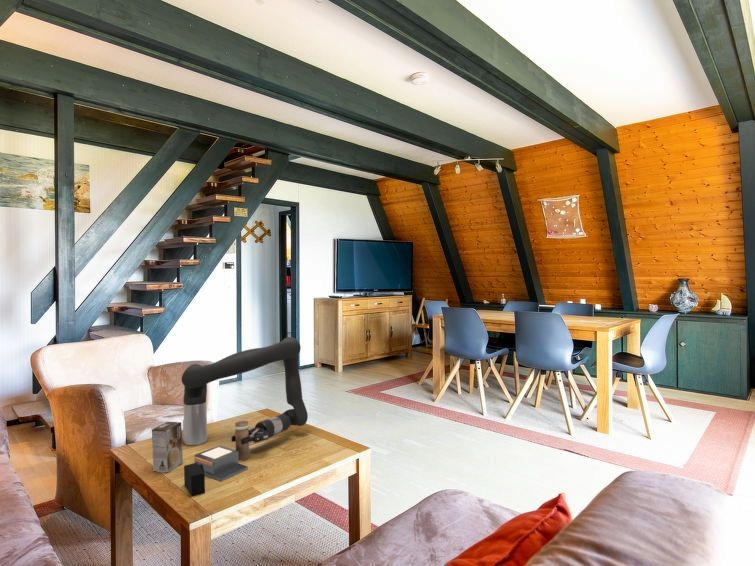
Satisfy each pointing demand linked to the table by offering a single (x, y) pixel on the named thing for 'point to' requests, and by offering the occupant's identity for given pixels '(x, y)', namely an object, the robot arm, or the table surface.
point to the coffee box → (167, 446)
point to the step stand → (220, 463)
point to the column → (240, 433)
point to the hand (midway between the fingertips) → (236, 440)
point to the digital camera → (194, 479)
